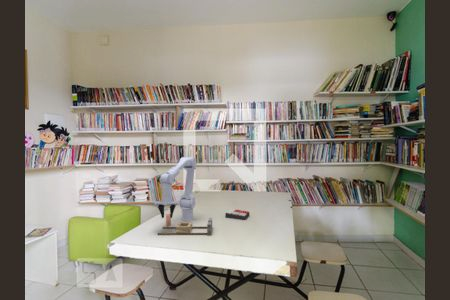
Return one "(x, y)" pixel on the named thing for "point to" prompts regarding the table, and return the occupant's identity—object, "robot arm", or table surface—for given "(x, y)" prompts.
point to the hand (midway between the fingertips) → (167, 217)
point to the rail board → (209, 228)
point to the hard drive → (237, 214)
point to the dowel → (168, 220)
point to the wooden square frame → (184, 227)
